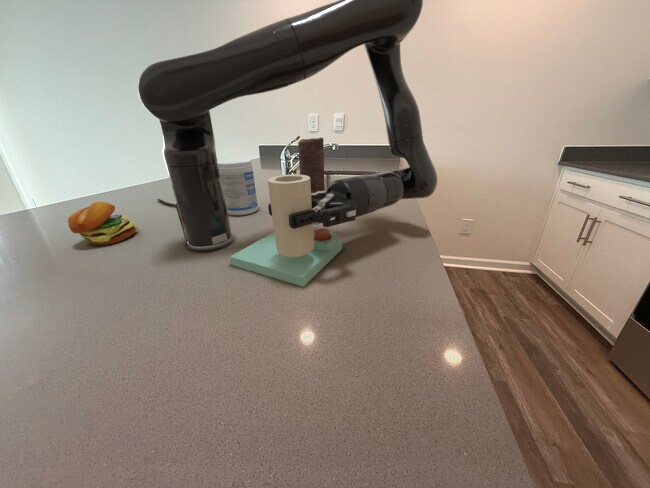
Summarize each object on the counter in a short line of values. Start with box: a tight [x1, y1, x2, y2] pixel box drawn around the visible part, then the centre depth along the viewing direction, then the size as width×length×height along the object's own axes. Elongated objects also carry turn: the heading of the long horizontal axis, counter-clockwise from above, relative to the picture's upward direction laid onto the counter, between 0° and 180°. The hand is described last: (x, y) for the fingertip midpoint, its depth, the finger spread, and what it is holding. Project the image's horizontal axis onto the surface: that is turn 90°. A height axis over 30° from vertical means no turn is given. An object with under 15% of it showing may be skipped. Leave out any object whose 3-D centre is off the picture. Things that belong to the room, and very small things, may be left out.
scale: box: [229, 231, 343, 288], centre depth 50 cm, size 16×15×4 cm
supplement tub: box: [217, 158, 259, 216], centre depth 75 cm, size 10×10×15 cm
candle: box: [297, 137, 326, 193], centre depth 76 cm, size 8×7×20 cm
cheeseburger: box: [67, 201, 139, 246], centre depth 59 cm, size 10×11×10 cm
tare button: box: [313, 228, 331, 241], centre depth 51 cm, size 3×3×2 cm
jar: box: [267, 173, 314, 257], centre depth 42 cm, size 6×6×12 cm
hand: (279, 215), depth 41 cm, fingers closed on jar, 6 cm apart
